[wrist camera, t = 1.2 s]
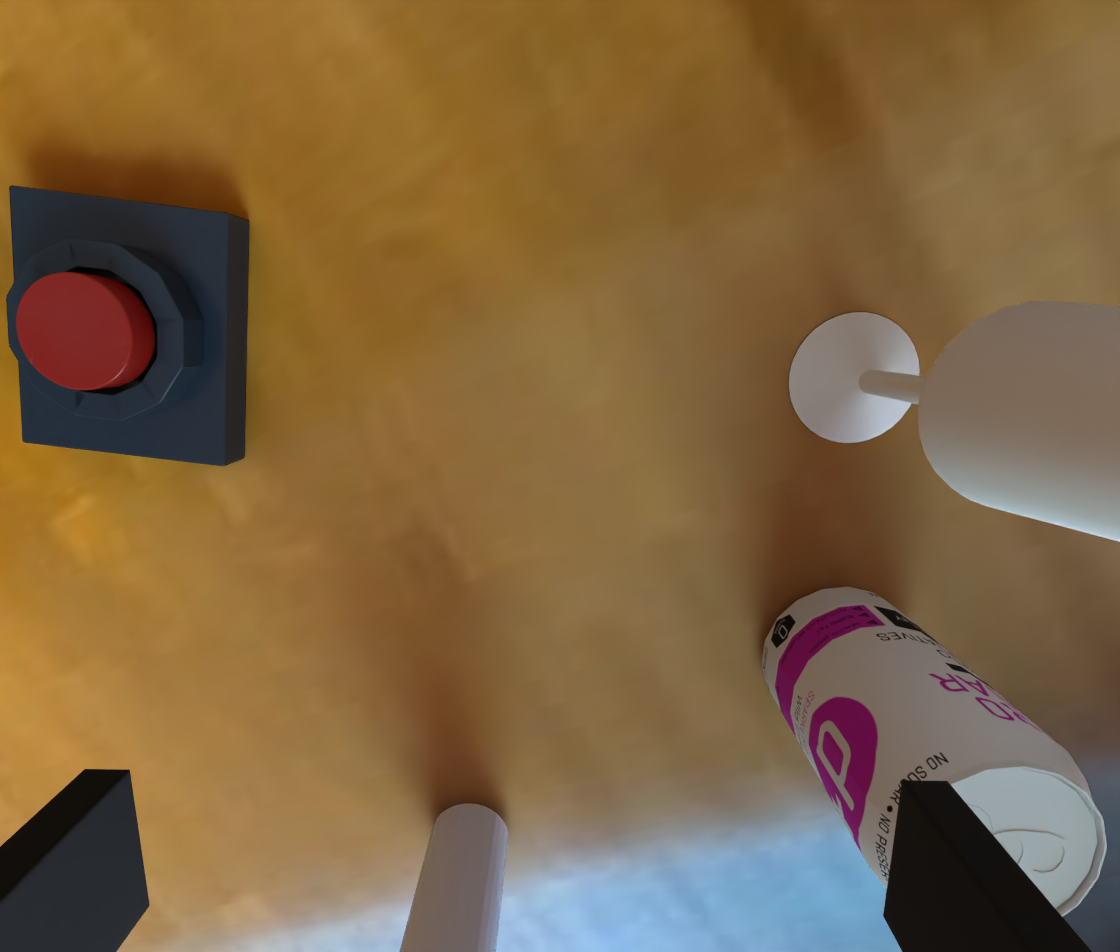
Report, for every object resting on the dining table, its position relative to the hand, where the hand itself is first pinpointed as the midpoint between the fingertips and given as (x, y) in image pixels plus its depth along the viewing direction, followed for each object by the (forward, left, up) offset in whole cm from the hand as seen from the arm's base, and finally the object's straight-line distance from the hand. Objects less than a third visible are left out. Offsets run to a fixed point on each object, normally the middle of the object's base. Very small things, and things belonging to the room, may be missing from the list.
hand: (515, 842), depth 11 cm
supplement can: (+7, +17, -25) cm, 31 cm away
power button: (-6, -21, -21) cm, 31 cm away
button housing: (-6, -21, -25) cm, 33 cm away
